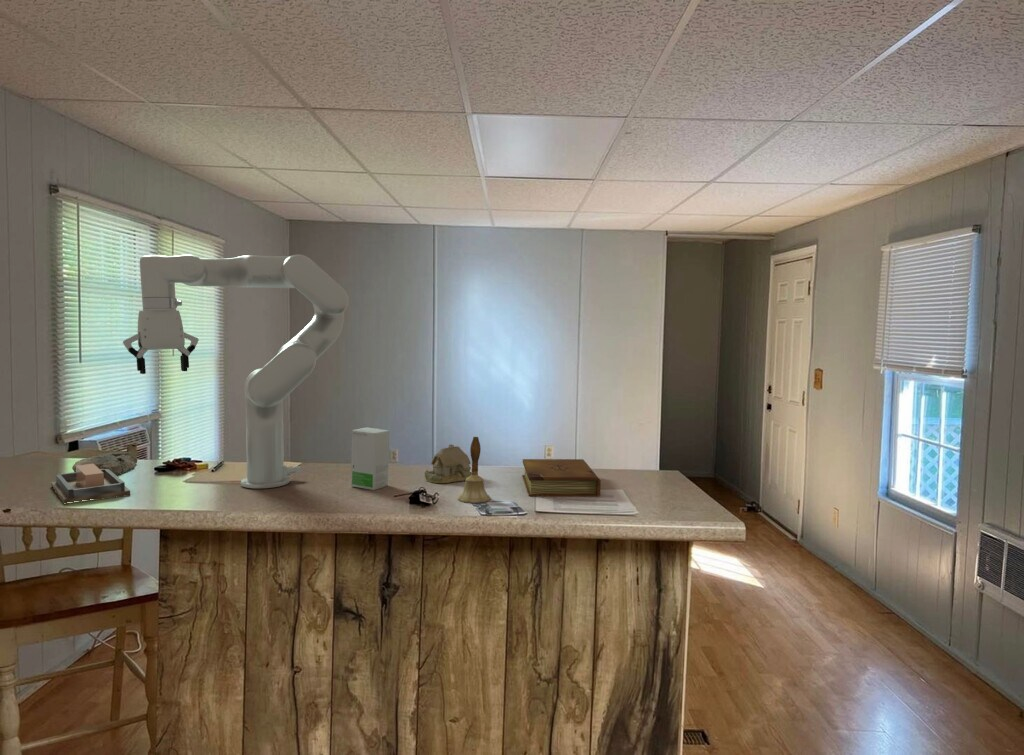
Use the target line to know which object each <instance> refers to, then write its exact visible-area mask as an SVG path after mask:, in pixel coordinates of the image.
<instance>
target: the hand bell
mask: <svg viewBox="0 0 1024 755" xmlns="http://www.w3.org/2000/svg"><path fill="white" fill-rule="evenodd" d="M469 450H470V458H471V470H470V472H471V476H469V477H467V478H466V481H465V483H464V487H463V490H462V492H461V493H460V494H459V495H458V497H457V500H459V501H460V502H463V503H471V504H476V503H477V504H478V503H479V504H480V503H486V502H489V501H491V496H490V495H489V494H488V493H487V491H486V488H485V483H484V478H483V477H481V476H480V475H479V460H480V456H481V443H480V439H479V437H478V436H473V437H472V441H471V443H470V449H469Z"/></svg>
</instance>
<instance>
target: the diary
mask: <svg viewBox="0 0 1024 755" xmlns="http://www.w3.org/2000/svg"><path fill="white" fill-rule="evenodd" d="M522 464H523V468H524V474H522V476H521V477H522V479H523V482H524V485H525V489H526V492H527V495H528V497H530V498H531V497H532V498H533V497H535V498H536V497H539V498H542V497H545V498H546V497H549V498H550V497H556V498H557V497H560V498H561V497H566V498H567V497H569V498H570V497H575V498H576V497H577V498H579V497H582V498H583V497H598V498H599V497H600V496H601V485H602V484H601V479H600V478H599V476H598V475H597V474H596V473H595V472H594V471H593V470H592V468H591V467H590V466H589V465H588V463H587V462H586V460H584V459H583V458H581V459H580V458H579V459H573V458H572V459H571V458H565V459H563V458H561V459H560V458H554V459H553V458H552V459H551V458H548V459H546V458H542V459H541V458H540V459H539V458H534V459H533V458H523V459H522Z"/></svg>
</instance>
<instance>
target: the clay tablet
mask: <svg viewBox="0 0 1024 755" xmlns="http://www.w3.org/2000/svg"><path fill="white" fill-rule="evenodd" d="M137 463H138V458H137V457H136V456H134V454H133V453H132V451H113V452H104V453H99V454H96V455H94V456H93V455H92V456H90V457H86V458H83V459H80V460H78V461H76V462H75V463H74V464H73V466H72V467H71V468H72V470H73V472H76V466H77V465H86V464H94V465H96V466H97V467H98V468H99V469H109V470H110V471H111V472H113V473H114V474H115V475H116V476H118V475H121V474H124V472H125V473H127V472H128V471H130V470H133V469H135V468H136V464H137ZM126 471H127V472H126ZM120 473H121V474H120ZM117 474H118V475H117Z"/></svg>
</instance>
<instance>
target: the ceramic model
mask: <svg viewBox="0 0 1024 755" xmlns="http://www.w3.org/2000/svg"><path fill="white" fill-rule="evenodd" d="M470 460H471V459H470V458H469V456H468V454H466V453H465V452H464V450H462V449H461V447H460V446H458V445H456V446H455V445H454V444H449V445H448V446H447V447H443V448H441V449H440V450H439V451H438V452H437V453H435V454H434V456H433V458H432V460H431V463H430V465H432V468H433V469H432V470H430V471H429V470H425V471H424V478H425V481H426V482H429V483H434V484H436V483H437V484H447V483H454V482H464V481H465V482H466V478H467V477H469V476H471V472H472V471H471V470H472V466H471V465H470V464H471V461H470Z"/></svg>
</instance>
